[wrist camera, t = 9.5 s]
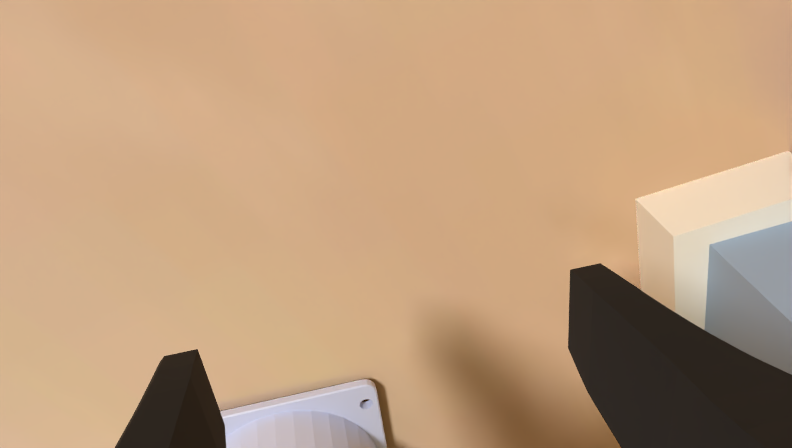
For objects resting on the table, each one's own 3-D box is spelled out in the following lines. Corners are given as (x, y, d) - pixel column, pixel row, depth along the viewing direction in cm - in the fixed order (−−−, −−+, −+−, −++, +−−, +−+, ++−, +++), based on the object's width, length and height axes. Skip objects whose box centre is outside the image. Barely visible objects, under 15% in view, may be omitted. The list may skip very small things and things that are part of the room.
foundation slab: (773, 270, 30) (823, 314, 27) (638, 314, 30) (676, 362, 27) (781, 146, 27) (839, 183, 24) (631, 194, 26) (673, 236, 24)
